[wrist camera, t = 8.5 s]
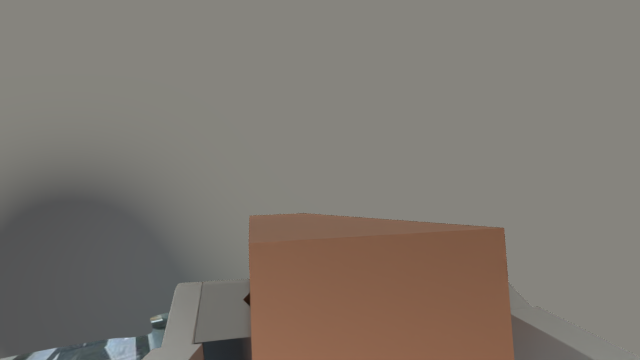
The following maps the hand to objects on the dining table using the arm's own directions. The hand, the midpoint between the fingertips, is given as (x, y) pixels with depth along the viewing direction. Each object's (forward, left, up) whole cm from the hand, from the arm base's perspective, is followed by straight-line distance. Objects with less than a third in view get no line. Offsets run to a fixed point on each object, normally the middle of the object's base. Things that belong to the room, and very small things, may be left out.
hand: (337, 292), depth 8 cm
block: (-4, +7, -3) cm, 8 cm away
